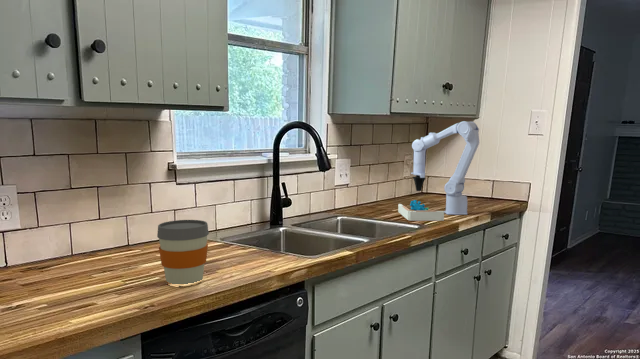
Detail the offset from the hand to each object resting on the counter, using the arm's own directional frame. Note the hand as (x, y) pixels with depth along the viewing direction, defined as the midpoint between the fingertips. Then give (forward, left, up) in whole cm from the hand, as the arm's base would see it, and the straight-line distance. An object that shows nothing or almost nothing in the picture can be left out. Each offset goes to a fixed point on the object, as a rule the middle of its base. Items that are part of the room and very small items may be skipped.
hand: (418, 190), depth 229 cm
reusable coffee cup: (+88, +110, -10) cm, 141 cm away
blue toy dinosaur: (+4, +20, -10) cm, 23 cm away
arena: (+4, +18, -9) cm, 21 cm away
